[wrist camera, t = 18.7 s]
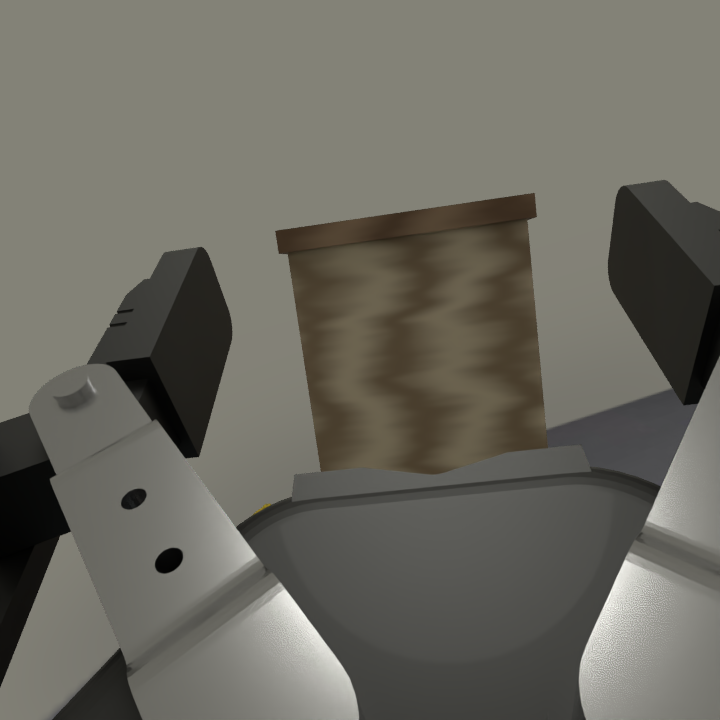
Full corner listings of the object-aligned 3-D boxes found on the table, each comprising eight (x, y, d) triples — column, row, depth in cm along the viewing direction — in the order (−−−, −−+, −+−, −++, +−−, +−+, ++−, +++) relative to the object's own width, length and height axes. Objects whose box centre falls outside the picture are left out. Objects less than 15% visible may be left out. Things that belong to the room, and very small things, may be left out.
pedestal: (530, 547, 57) (498, 212, 52) (574, 646, 42) (534, 193, 37) (358, 562, 59) (311, 239, 54) (342, 662, 44) (275, 230, 39)
